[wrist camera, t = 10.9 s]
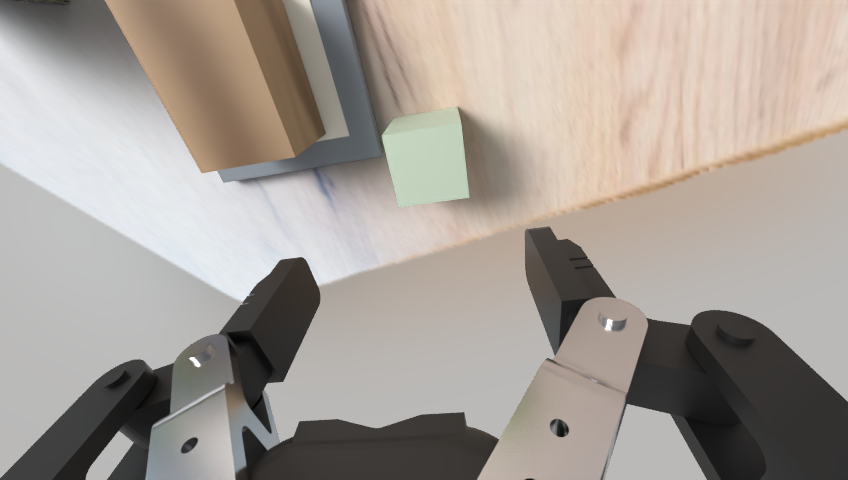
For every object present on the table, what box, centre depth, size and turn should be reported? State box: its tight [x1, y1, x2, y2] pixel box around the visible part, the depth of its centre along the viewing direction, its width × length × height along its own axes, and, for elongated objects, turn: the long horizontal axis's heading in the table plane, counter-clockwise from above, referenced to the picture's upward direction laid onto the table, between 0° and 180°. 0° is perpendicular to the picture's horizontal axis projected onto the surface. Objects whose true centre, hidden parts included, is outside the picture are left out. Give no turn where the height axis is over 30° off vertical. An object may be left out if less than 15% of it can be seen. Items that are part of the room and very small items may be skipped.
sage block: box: [382, 107, 469, 207], centre depth 23 cm, size 5×5×6 cm
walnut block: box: [105, 0, 326, 173], centre depth 20 cm, size 6×9×6 cm
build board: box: [217, 0, 383, 183], centre depth 23 cm, size 14×14×1 cm
